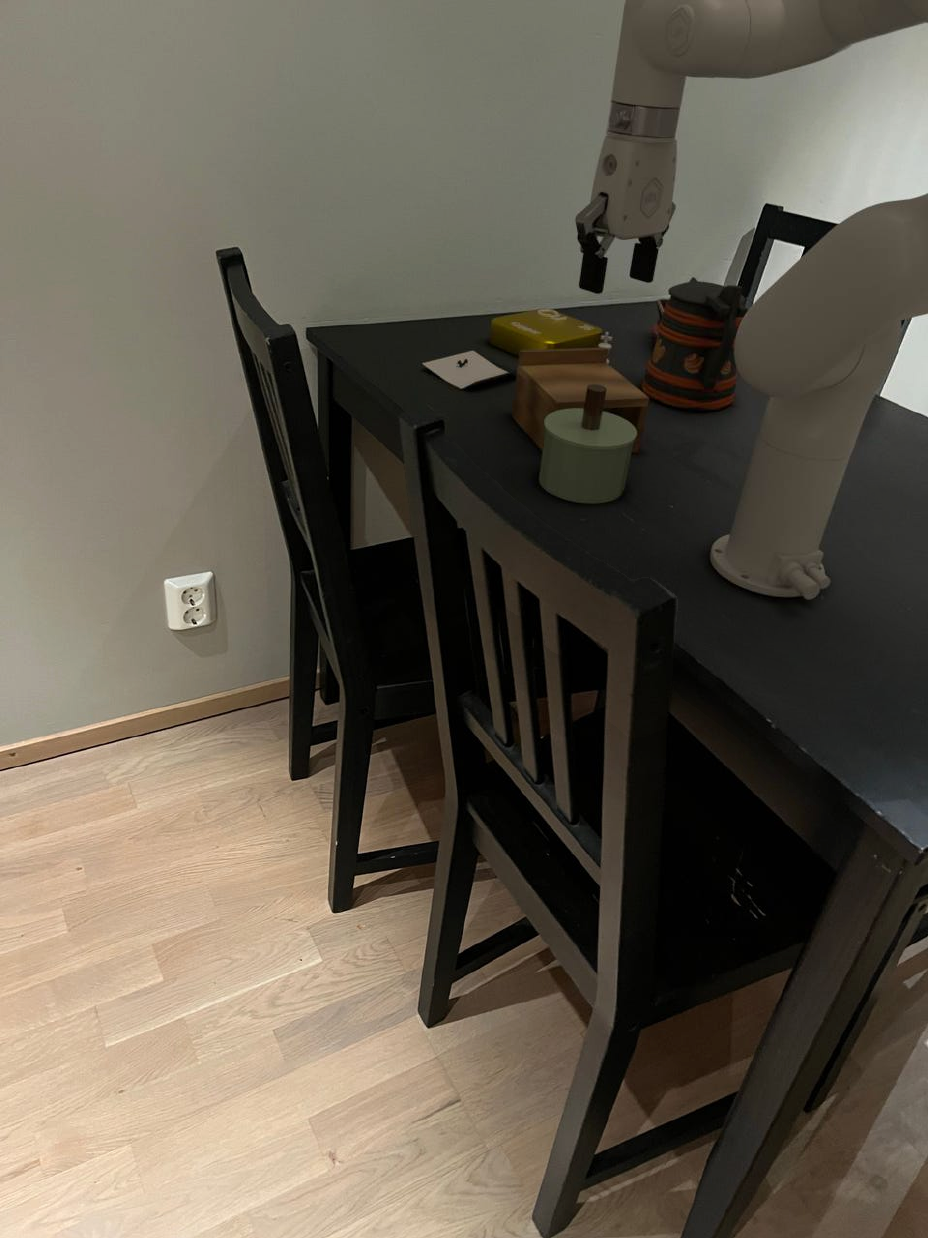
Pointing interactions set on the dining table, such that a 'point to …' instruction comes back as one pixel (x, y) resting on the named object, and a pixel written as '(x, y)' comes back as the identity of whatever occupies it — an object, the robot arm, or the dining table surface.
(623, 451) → the pot
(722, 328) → the beer stein
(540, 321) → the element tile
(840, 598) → the dining table surface
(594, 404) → the lid
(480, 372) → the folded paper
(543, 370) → the shelf
